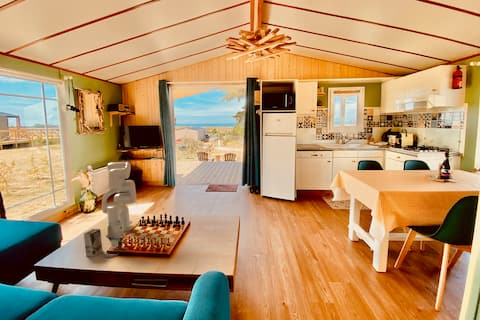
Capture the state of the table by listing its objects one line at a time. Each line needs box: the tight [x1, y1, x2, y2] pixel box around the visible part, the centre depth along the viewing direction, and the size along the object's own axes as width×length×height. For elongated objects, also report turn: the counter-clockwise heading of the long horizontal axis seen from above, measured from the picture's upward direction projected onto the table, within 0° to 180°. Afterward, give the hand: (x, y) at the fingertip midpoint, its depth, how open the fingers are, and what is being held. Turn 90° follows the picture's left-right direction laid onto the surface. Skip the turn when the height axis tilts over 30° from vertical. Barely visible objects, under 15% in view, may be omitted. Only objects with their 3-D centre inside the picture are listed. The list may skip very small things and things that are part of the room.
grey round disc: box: [103, 252, 119, 259], centre depth 189 cm, size 9×9×1 cm
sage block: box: [110, 238, 119, 248], centre depth 199 cm, size 5×5×6 cm
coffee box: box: [83, 228, 103, 257], centre depth 191 cm, size 9×6×16 cm
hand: (116, 245), depth 199 cm, fingers closed on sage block, 5 cm apart
